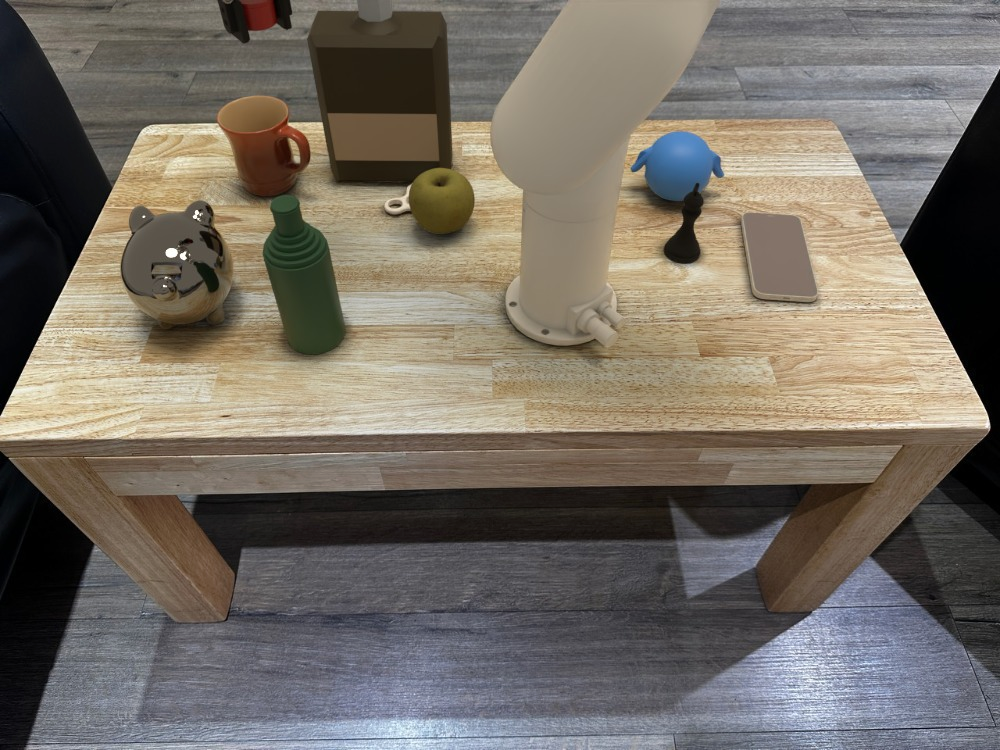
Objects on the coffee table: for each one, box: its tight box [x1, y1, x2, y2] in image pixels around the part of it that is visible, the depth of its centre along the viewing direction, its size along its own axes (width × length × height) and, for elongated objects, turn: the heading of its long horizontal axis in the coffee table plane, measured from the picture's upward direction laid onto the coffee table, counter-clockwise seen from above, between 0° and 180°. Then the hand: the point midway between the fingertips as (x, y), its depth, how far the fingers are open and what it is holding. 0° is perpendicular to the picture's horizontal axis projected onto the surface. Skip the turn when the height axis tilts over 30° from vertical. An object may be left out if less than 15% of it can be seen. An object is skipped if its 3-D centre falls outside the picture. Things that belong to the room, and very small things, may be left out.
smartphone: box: [740, 211, 819, 303], centre depth 95 cm, size 7×1×15 cm
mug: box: [216, 94, 312, 197], centre depth 100 cm, size 12×9×10 cm
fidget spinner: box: [383, 183, 412, 215], centre depth 101 cm, size 7×6×1 cm
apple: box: [408, 168, 476, 235], centre depth 96 cm, size 8×8×7 cm
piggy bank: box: [119, 199, 234, 330], centre depth 85 cm, size 11×15×12 cm
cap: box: [239, 0, 277, 32], centre depth 76 cm, size 4×4×3 cm
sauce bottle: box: [262, 194, 346, 355], centre depth 80 cm, size 6×6×18 cm
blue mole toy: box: [630, 130, 725, 202], centre depth 101 cm, size 12×12×8 cm
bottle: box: [306, 0, 454, 183], centre depth 97 cm, size 8×16×25 cm, turn 90°
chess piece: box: [663, 183, 705, 264], centre depth 92 cm, size 4×4×10 cm
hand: (260, 29), depth 78 cm, fingers closed on cap, 3 cm apart
